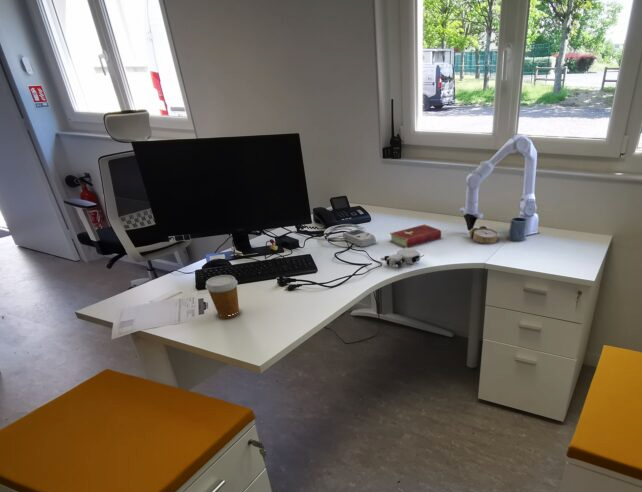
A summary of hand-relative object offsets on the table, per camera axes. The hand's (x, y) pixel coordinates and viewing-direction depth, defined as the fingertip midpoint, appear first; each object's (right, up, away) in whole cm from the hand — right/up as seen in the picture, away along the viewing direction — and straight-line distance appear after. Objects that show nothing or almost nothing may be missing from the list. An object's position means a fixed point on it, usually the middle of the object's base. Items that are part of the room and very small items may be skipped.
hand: (470, 230), depth 218 cm
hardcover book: (-26, -7, -7) cm, 28 cm away
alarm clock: (+5, -6, -6) cm, 10 cm away
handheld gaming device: (-52, -8, -9) cm, 53 cm away
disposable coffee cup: (-88, -47, -69) cm, 121 cm away
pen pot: (+21, -6, -6) cm, 23 cm away
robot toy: (-32, -23, -32) cm, 51 cm away
